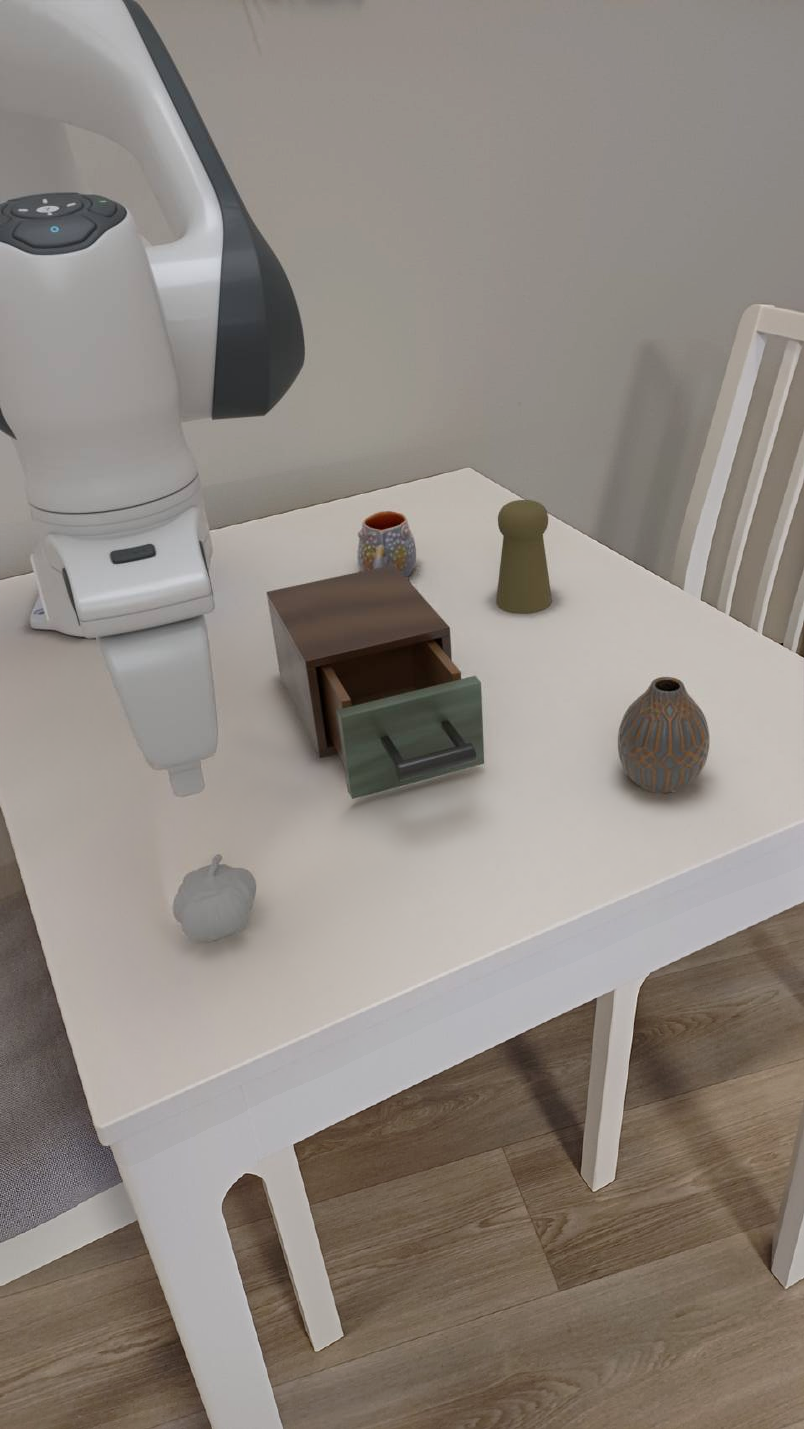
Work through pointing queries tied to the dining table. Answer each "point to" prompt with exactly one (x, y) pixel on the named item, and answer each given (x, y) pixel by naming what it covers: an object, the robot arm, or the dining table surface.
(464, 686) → the drawer
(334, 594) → the cabinet
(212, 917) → the garlic
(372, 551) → the grey decorated pot
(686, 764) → the vase
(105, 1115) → the dining table surface
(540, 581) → the olive green pawn
